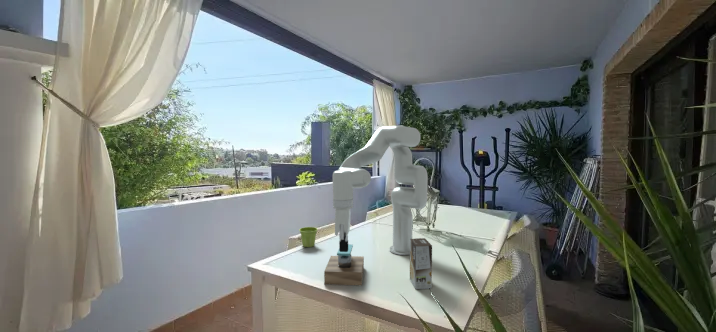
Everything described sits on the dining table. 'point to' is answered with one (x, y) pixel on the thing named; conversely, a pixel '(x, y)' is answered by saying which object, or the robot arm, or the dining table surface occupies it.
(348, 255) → the teal flat block
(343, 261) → the pin
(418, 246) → the coffee box
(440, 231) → the dining table surface
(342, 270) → the block
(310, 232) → the plant pot
